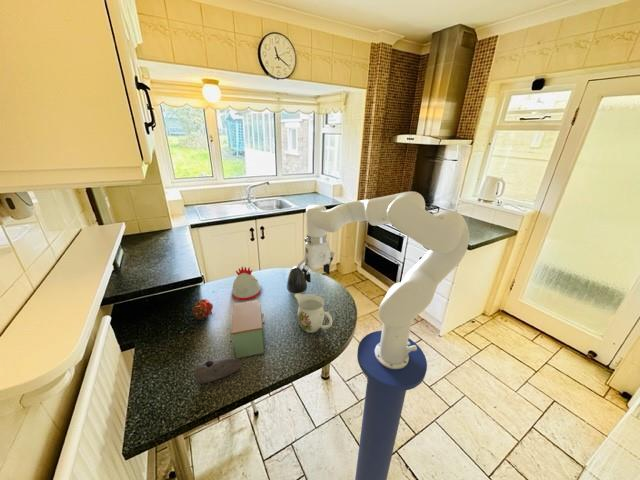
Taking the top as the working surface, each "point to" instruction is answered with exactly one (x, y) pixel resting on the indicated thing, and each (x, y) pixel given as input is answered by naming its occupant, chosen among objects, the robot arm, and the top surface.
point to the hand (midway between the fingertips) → (317, 276)
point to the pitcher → (311, 312)
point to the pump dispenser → (296, 281)
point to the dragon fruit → (202, 309)
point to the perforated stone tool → (216, 369)
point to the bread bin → (247, 328)
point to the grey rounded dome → (245, 285)
